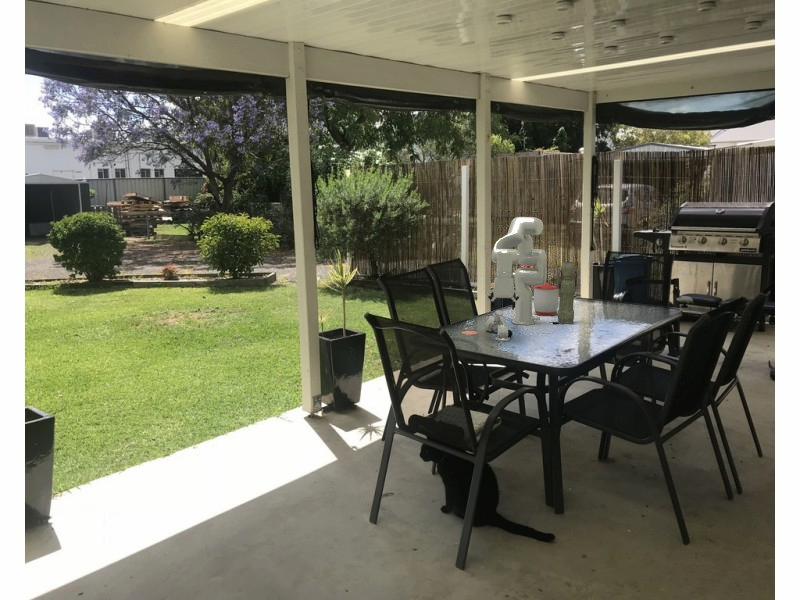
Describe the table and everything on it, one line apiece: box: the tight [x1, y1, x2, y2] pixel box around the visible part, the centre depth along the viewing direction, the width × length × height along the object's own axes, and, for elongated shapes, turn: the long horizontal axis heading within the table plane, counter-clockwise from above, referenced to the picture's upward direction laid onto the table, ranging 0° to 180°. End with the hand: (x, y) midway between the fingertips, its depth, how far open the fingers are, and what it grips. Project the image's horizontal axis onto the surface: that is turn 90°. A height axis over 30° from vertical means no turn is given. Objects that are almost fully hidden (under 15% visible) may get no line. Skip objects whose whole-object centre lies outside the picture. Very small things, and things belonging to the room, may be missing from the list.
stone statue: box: [556, 261, 579, 325], centre depth 364 cm, size 9×12×35 cm
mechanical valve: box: [485, 309, 513, 339], centre depth 339 cm, size 10×18×15 cm
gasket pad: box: [460, 330, 479, 336], centre depth 341 cm, size 9×9×1 cm
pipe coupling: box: [495, 323, 511, 343], centre depth 325 cm, size 7×7×8 cm
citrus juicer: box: [532, 281, 560, 317], centre depth 392 cm, size 16×17×20 cm
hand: (503, 309), depth 323 cm, fingers open, 9 cm apart
